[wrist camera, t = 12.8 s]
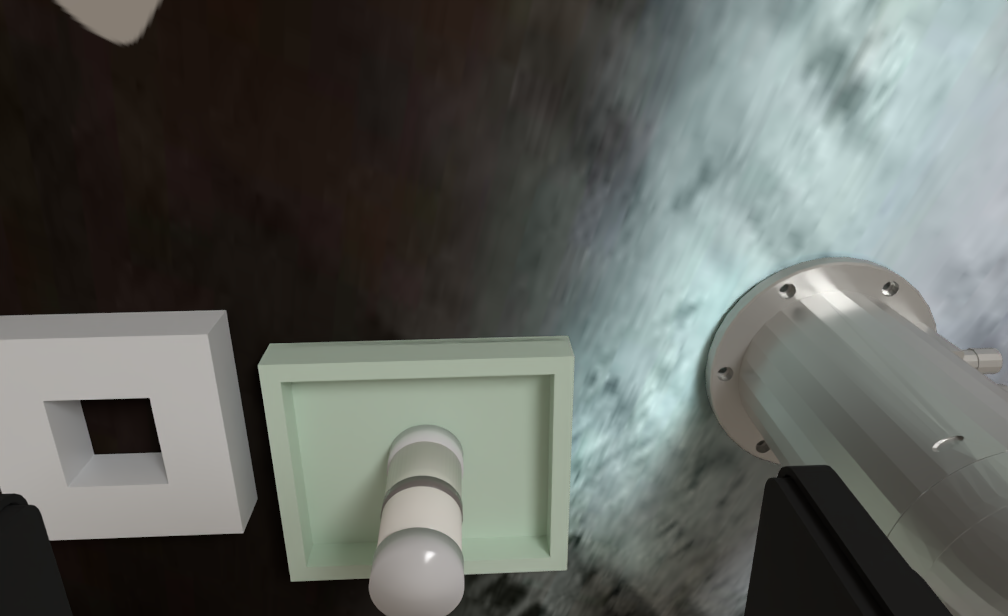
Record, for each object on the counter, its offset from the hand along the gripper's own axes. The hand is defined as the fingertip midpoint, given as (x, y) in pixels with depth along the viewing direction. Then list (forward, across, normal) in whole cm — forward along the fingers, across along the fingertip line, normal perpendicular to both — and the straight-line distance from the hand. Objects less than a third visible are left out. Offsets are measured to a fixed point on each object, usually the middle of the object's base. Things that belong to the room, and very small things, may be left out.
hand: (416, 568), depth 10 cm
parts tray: (+28, +2, +17) cm, 33 cm away
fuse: (+28, +2, +17) cm, 33 cm away
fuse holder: (+28, +18, +14) cm, 36 cm away
